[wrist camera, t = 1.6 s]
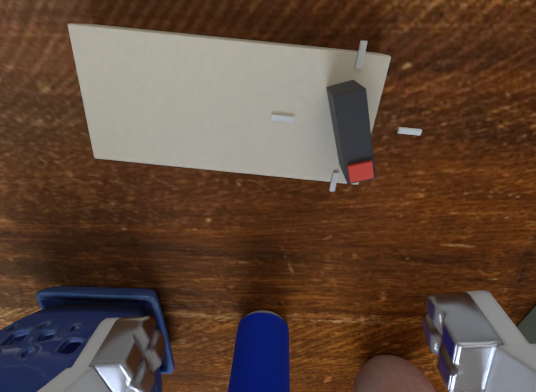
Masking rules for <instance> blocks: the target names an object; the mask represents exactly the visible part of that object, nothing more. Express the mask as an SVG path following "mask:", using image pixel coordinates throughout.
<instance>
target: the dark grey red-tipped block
mask: <svg viewBox="0 0 536 392" xmlns="http://www.w3.org/2000/svg"><path fill="white" fill-rule="evenodd" d="M326 89H327V95H328V101H329V107H330V113H331V119H332V125H333V131H334V137H335V142H336V148H337V154H338V160H339V165H340V167H341V170H342V172H343V175H344V177H345V180H346V182H347V184H352V183H357V182H362V181H367V180H371V179H376V174H375V165H374V156H373V147H372V138H371V129H370V120H369V111H368V102H367V93H366V88H364V87H363V86H362V85H360V84H359V83H358V82H356V81H355V80H350V81H346V82H342V83H339V84H335V85H331V86H327V87H326Z"/></svg>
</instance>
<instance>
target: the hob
mask: <svg viewBox="0 0 536 392" xmlns="http://www.w3.org/2000/svg"><path fill="white" fill-rule="evenodd" d="M68 29H69V34H70V39H71V44H72V49H73V54H74V59H75V64H76V69H77V74H78V79H79V84H80V89H81V94H82V99H83V104H84V109H85V114H86V119H87V124H88V129H89V134H90V139H91V144H92V149H93V154H94V158H97V159H107V160H117V161H127V162H137V163H147V164H157V165H167V166H177V167H187V168H197V169H207V170H217V171H227V172H237V173H247V174H257V175H267V176H277V177H287V178H297V179H307V180H317V181H327V182H331V184H330V189H329V191H333V192H335V188H336V183H347V182H346V180H345V177H344V175H343V172H342V170H341V167H340V165H339V160H338V154H337V148H336V142H335V137H334V131H333V125H332V119H331V113H330V107H329V101H328V95H327V89H326V87H327V86H331V85H335V84H339V83H342V82H346V81H350V80H355V81H356V82H358V83H359V84H360V85H362V86H363V87H364V88H366V93H367V102H368V111H369V120H370V129H371V133H372V129H373V125H374V121H375V117H376V114H377V110H378V106H379V102H380V98H381V94H382V90H383V86H384V83H385V79H386V75H387V71H388V67H389V63H390V59H391V56H389V55H385V54H381V53H375V52H365V51H366V47H367V42H368V41H360V45H359V50H358V51H355V50H345V49H335V48H325V47H315V46H305V45H295V44H285V43H275V42H265V41H255V40H245V39H235V38H225V37H215V36H206V35H196V34H186V33H176V32H166V31H156V30H146V29H136V28H126V27H116V26H106V25H96V24H68ZM421 132H422V129H415V128H405V127H399V128H398V131H397V133H400V134H410V135H421ZM358 183H359V182H357V183H352V184H358Z"/></svg>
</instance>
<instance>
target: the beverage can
mask: <svg viewBox="0 0 536 392" xmlns="http://www.w3.org/2000/svg"><path fill="white" fill-rule="evenodd" d="M228 392H290V380H289V328H288V325H287V324H286V322H285V321H284V320H283V319H282V318H281V317H280V316H279V315H278V314H276V313H274V312H271V311H266V310H259V311H254V312H251V313H249V314H248V315H246V316H245V317H244V318H243V319H242V320H241V321H240V323H239V325H238V330H237V337H236V343H235V350H234V356H233V363H232V369H231V376H230V382H229V389H228Z"/></svg>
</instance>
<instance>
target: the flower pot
mask: <svg viewBox="0 0 536 392" xmlns="http://www.w3.org/2000/svg"><path fill="white" fill-rule="evenodd" d="M36 299H37V302H38V304H39V306H40V308H41V310H40V311H38V312H35V313H33V314H30V315H28V316H26V317H24V318H22V319H20V320H18V321H16V322H14V323H12V324H11V325H9V326H7V327H5V328H4V329H2V330H0V392H37V391H38V390H40V389H41V388H42V387H43V386H45V385H46V384H47V383H48V382H50V381H51V380H52V379H53V378H55V377H56V376H57V375H59V374H60V373H61V372H62V371H64V370H65V369H66V368H71V367H72V366H73V364H74V363H75V361H76V360H77V358H78V357H79V355H80V353H81V352H82V350H83V349H84V347H85V346H86V344H87V343H88V341H89V340H90V338H91V336H92V335H93V333H94V332H95V330H96V329H97V327H98V326H99V324H100V323H101V322H102V321H103V320H104V319H106V318H120V317H138V316H153V317H154V319H155V320H156V322H157V325H156V327H155V329H157V330H158V331H160V332H161V333H162V334H163V336H164V338H165V344H166V347H165V356H164V358H163V361H162V364H161V365H160V366H159V367H158V368H157V369H156V370H155V371H154V374H155V378H156V380H155V383H154V385H153V388H152V390H151V392H162V380H161V374H170V373H172V372H173V371H174V359H173V355H172V350H171V345H170V341H169V336H168V332H167V328H166V324H165V320H164V316H163V313H162V309H161V305H160V302H159V299H158V296H157V294H156V292H155V291H154V290H152V289H143V288H113V287H78V286H61V287H52V288H46V289H43V290H40V291H38V292H37V293H36Z"/></svg>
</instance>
